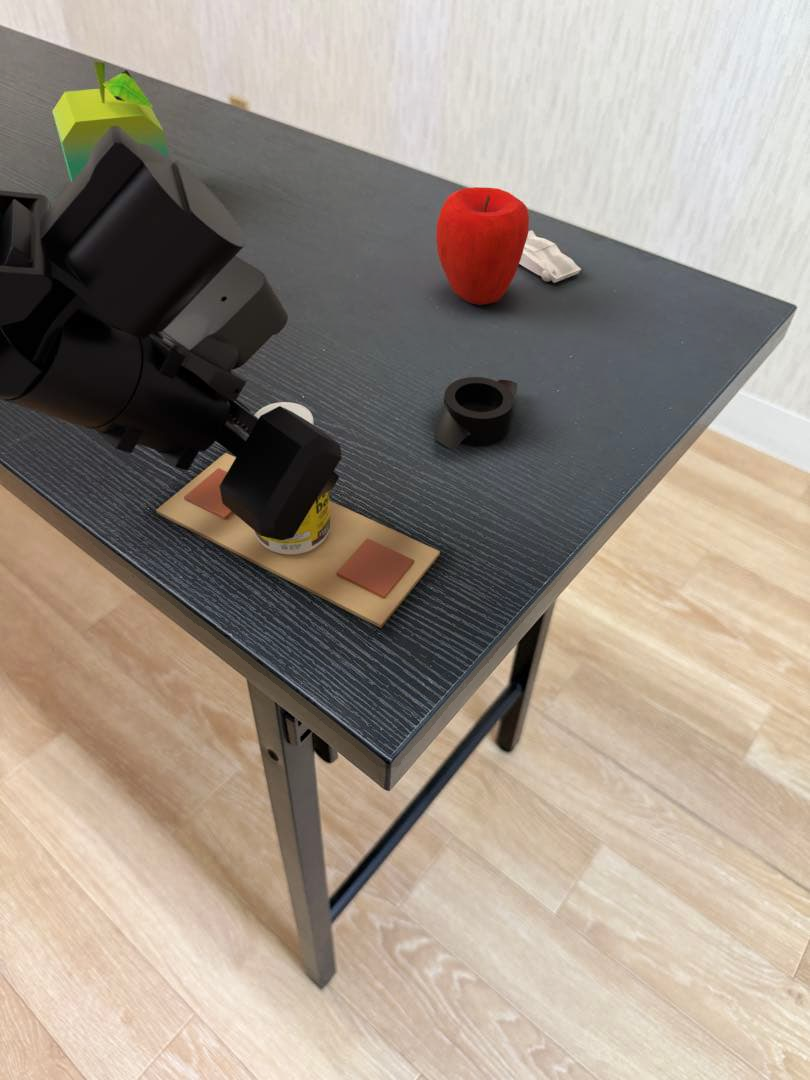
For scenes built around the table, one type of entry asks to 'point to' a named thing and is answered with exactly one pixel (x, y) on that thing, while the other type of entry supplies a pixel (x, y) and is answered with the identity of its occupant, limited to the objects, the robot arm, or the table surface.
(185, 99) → the table surface
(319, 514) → the supplement bottle
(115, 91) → the yellow-green faceted fruit
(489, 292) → the apple
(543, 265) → the toy car
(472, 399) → the black hollow round piece
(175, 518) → the wood board
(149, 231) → the robot arm
